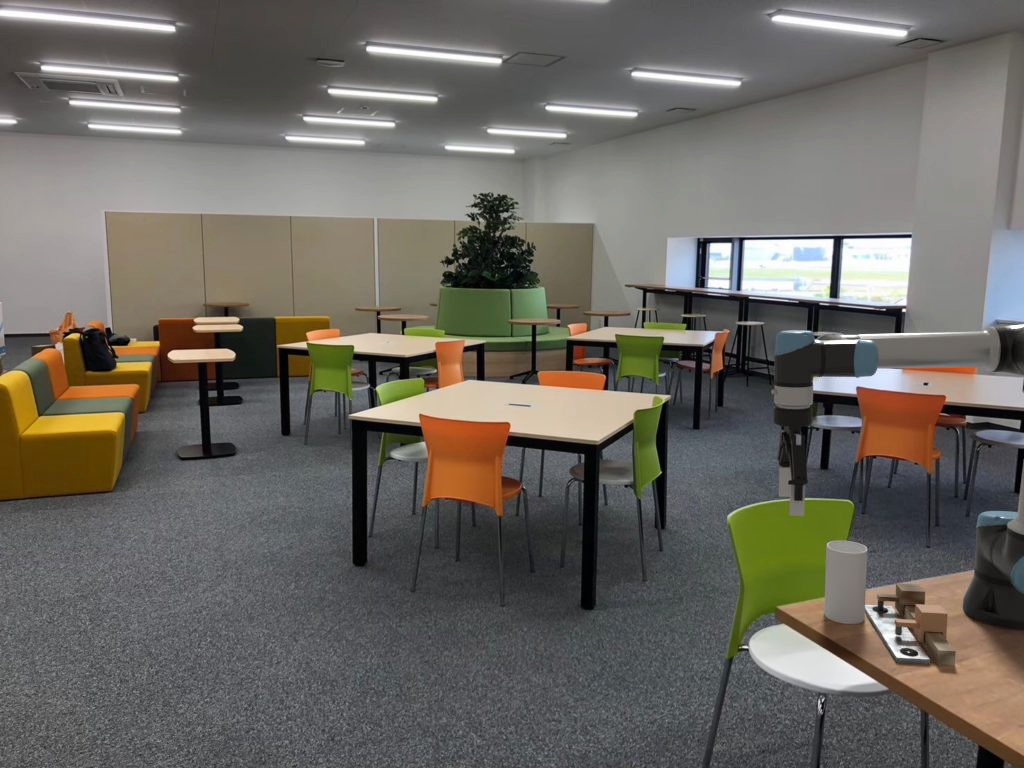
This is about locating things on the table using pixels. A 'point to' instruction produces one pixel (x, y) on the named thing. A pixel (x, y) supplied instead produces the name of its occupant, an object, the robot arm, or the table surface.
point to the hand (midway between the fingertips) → (791, 505)
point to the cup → (845, 582)
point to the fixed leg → (903, 597)
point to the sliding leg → (925, 621)
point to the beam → (934, 642)
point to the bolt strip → (896, 636)
